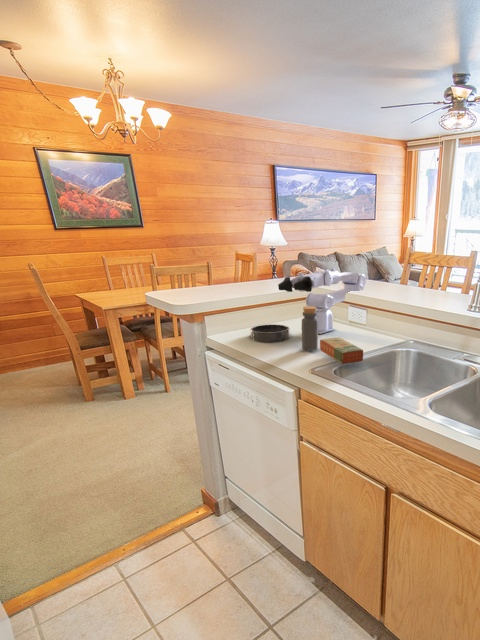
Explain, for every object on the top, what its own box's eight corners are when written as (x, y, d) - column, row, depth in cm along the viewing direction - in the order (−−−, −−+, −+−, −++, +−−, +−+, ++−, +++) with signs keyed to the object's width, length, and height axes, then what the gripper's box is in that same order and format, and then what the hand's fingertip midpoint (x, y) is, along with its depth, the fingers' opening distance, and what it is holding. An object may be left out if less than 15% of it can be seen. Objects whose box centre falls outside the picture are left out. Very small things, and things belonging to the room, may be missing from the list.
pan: (271, 332, 176) (270, 322, 174) (297, 337, 167) (296, 327, 166) (243, 339, 165) (242, 329, 163) (269, 344, 156) (269, 334, 155)
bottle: (318, 346, 154) (319, 306, 148) (316, 350, 149) (316, 309, 142) (303, 345, 154) (303, 305, 148) (300, 349, 149) (299, 308, 143)
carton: (339, 347, 149) (340, 336, 148) (363, 361, 137) (364, 349, 135) (319, 350, 145) (319, 339, 144) (342, 364, 133) (342, 352, 131)
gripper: (293, 271, 165) (270, 276, 155) (322, 270, 157) (300, 275, 147) (296, 289, 168) (273, 295, 157) (324, 289, 160) (303, 295, 150)
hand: (286, 287), depth 152 cm, fingers open, 7 cm apart
